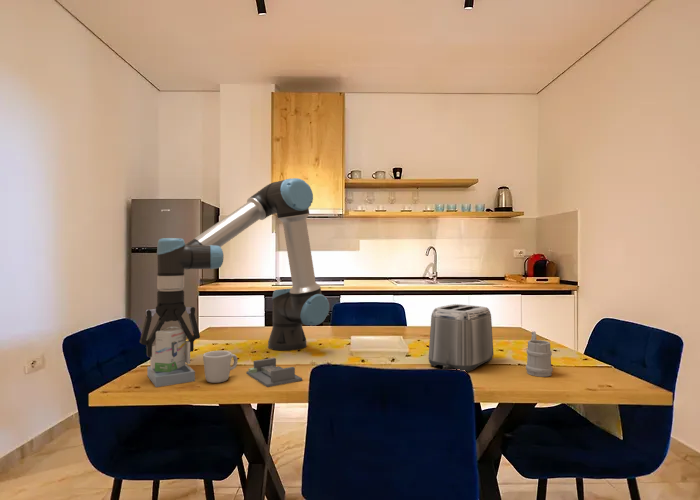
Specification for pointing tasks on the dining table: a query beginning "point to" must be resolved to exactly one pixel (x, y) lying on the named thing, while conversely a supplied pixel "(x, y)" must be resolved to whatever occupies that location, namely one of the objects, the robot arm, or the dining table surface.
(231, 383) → the dining table surface
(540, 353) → the mug
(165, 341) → the ink box
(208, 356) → the cup
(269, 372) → the checker pad
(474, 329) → the toaster
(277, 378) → the cradle
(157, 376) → the trough
